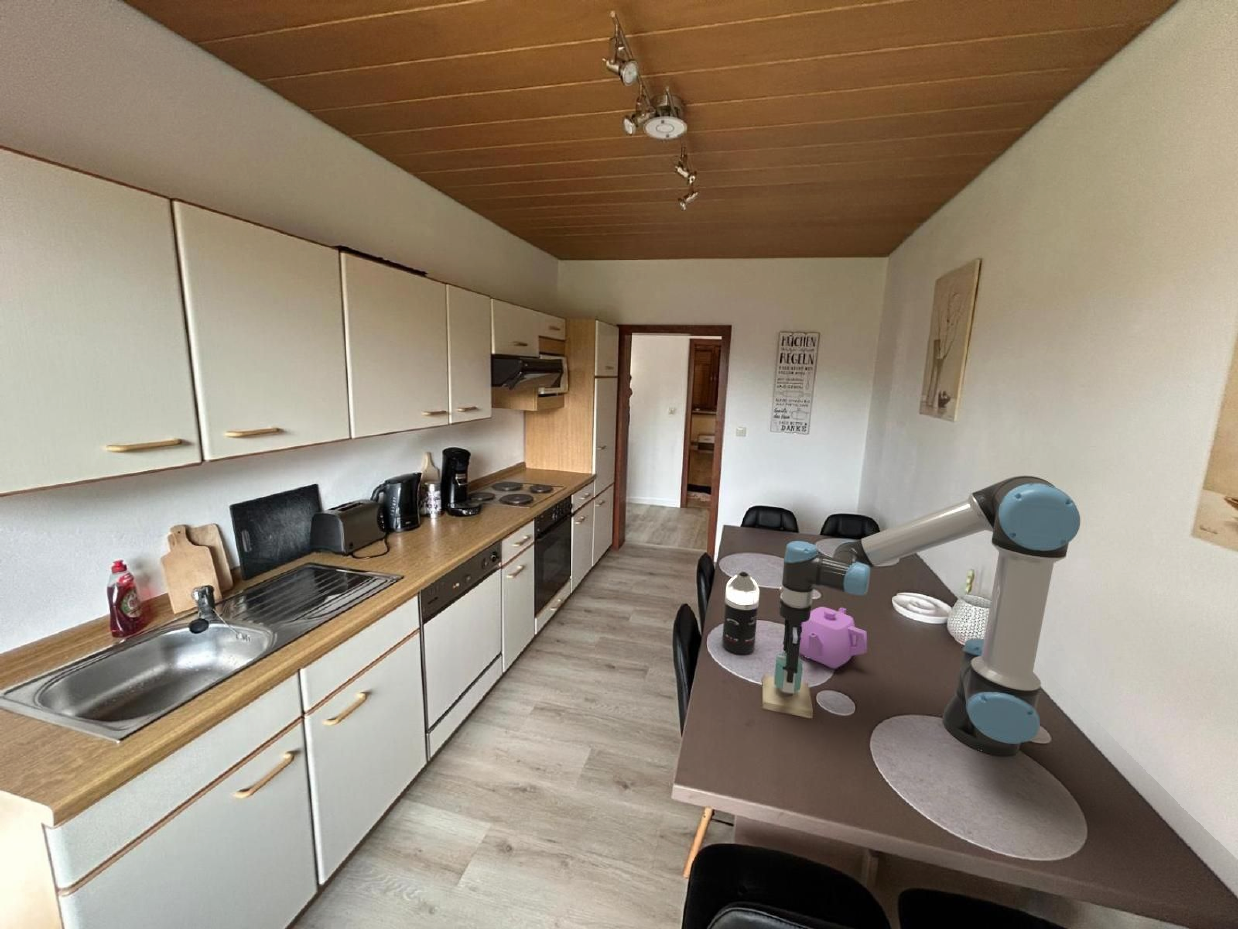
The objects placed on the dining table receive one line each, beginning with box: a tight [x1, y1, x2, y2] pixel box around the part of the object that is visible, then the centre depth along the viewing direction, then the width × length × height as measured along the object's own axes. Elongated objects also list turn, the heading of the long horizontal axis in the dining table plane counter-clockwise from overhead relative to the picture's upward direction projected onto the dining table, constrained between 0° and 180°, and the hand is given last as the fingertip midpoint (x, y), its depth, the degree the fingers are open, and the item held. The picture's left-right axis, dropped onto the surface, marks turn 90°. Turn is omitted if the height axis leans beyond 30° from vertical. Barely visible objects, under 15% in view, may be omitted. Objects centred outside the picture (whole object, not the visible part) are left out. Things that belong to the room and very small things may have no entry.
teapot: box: [799, 606, 868, 670], centre depth 148 cm, size 19×18×15 cm
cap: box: [773, 652, 804, 692], centre depth 127 cm, size 6×6×8 cm
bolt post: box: [761, 674, 814, 719], centre depth 128 cm, size 12×12×8 cm
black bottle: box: [721, 571, 760, 655], centre depth 151 cm, size 10×10×25 cm
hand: (787, 683), depth 128 cm, fingers closed on cap, 6 cm apart
